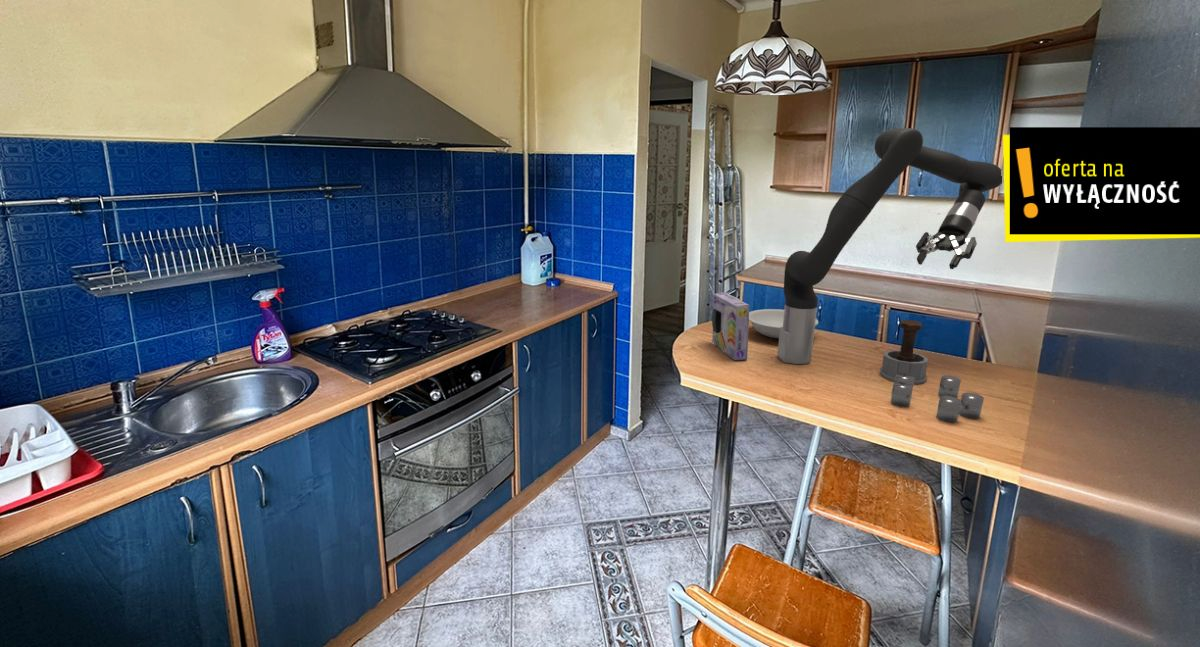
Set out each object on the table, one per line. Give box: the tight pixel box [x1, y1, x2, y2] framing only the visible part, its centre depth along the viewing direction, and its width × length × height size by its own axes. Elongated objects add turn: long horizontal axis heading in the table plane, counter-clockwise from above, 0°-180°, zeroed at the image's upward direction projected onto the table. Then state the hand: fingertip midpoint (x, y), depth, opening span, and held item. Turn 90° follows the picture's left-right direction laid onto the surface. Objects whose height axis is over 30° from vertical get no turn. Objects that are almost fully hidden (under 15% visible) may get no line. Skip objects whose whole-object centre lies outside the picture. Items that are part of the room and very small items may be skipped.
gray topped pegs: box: [890, 373, 985, 424], centre depth 143 cm, size 19×19×5 cm
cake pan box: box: [711, 291, 750, 361], centre depth 180 cm, size 19×5×18 cm, turn 11°
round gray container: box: [878, 349, 929, 385], centre depth 162 cm, size 12×12×6 cm
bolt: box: [896, 319, 923, 362], centre depth 160 cm, size 6×5×15 cm
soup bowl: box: [749, 308, 819, 340], centre depth 198 cm, size 24×24×7 cm
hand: (934, 265), depth 162 cm, fingers open, 8 cm apart
